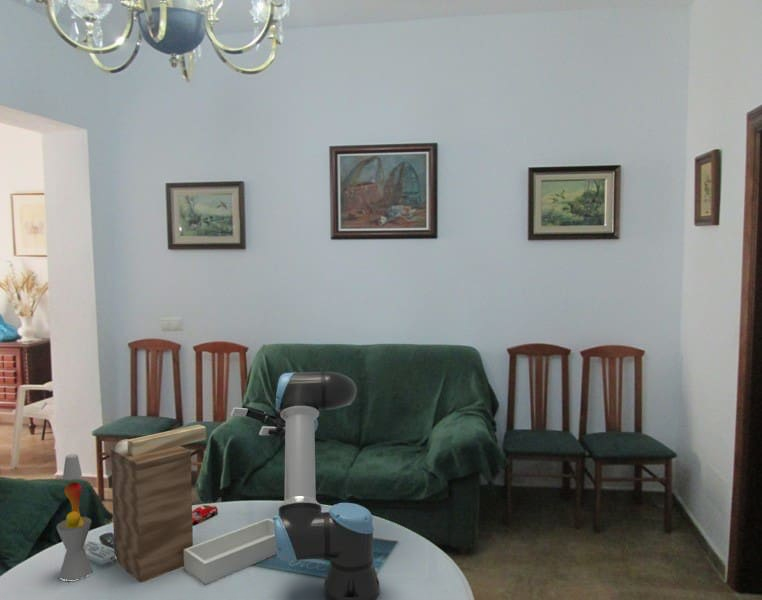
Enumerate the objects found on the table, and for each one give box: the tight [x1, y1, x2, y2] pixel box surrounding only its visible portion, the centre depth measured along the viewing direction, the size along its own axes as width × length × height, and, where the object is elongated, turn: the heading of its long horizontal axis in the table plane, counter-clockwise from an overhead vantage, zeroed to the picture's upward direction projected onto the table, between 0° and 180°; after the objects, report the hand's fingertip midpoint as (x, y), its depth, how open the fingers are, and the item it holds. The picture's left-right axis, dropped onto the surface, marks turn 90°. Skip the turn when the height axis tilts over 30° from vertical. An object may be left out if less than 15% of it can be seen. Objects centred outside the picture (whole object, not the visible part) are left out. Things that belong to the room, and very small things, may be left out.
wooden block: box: [110, 439, 194, 583], centre depth 180 cm, size 18×16×37 cm
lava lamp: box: [55, 453, 93, 580], centre depth 173 cm, size 9×9×35 cm
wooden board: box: [127, 424, 207, 456], centre depth 183 cm, size 4×23×4 cm, turn 136°
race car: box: [192, 504, 219, 527], centre depth 211 cm, size 13×5×4 cm, turn 145°
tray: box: [183, 517, 278, 585], centre depth 183 cm, size 12×30×6 cm, turn 136°
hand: (246, 421), depth 194 cm, fingers open, 13 cm apart
